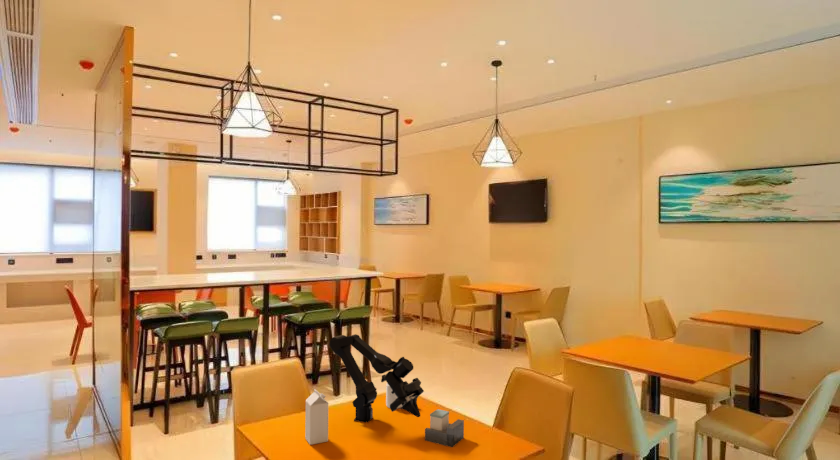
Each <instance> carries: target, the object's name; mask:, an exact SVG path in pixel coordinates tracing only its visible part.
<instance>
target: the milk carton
mask: <svg viewBox="0 0 840 460" xmlns="http://www.w3.org/2000/svg"><path fill="white" fill-rule="evenodd" d="M313 390H314V391H313V392H312V393H311V394H310V395H309V396H308V397H307V398H306V399H305V420H304V421H305V424H304V425H305V426H304V427H305V431H304V432H305V436H304V438H305V440H306V441H307V443H308V444H309V446H311V445H316V444H321V443H326V442H329V402H328V401H327V400H326V399H325V398H326V395H325V394H324V393H323V392H321V393H320V392H319V391H318V389H317V390H316V388H314V389H313Z"/></svg>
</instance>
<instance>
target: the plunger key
mask: <svg viewBox="0 0 840 460" xmlns="http://www.w3.org/2000/svg"><path fill="white" fill-rule="evenodd" d="M449 414H450V411H449V410H448V411H447V410H444V409H439V408H437V409H436V410H434V411H433V412H430V414H429V416H430V422H429V423H430V427H429V428H430V429H435V430H439V431H443V432H447V427H448V426H449V419H450V418H449V417H450V415H449Z"/></svg>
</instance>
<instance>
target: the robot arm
mask: <svg viewBox="0 0 840 460" xmlns="http://www.w3.org/2000/svg"><path fill="white" fill-rule="evenodd" d="M351 347H352V348H354V349H355V350H356V351H357V352H358V353H360V354H361V355H362V356H363V357H365V359H367V360H368V361H369V363H370V364H371V367H372V369H373V370H374V371H375V372H376V373H377V374H380V375H381V379H380V382H381V383H384V382H386V383H388V384H389V386H390V387H391V389H392V390H393V391H392V392H391V393H392V394H394V393H395V395H396V396H397V399H396V400H395V401H393V402H392V403H391V404H390V408H389V409H390V411H391V412H392V413H393V412H394V411H397V409H398V408H397V407H399V405H401V404H402V406H403V407H401V408H400V409H401V410H404V411H406V412H408V413H410V414H412V415H413V416H414V417H417V418H420V417H421V413H420V409H419V407H418V402H417V401H418V398H419V396H420V395H421V394H423V393H424V392H425V391H424V389H423V388H422V387H421V385H422V381H420V379H419V378H418V377H415V378H413V379H412V381H411V382H408V381H406V380H405V381H404V380H403V379H404V378H406V377H407V375H409V374H410V373H411V372H412V371H413V370H414V364H413V363H412V362H411V360H409V359H407V358H405V356H401V357H400V358H399V359H398V361H394V360H392V359H391V358H390V357H388V356H387V355H385V354H383V353H379V352H378V351H377V350H375V349H374V348H373V347H372V346H370V345H369V344H368V343H367V342H366V341H365V340H363V339H362V338H361V337H360V335H359V334H357V333H356V334H352V335H348V336H346V335H345V334H341V335H340V334H339V335H337V336H334V337H331V339H329V348H330V349H331V350H332V352H333V353H334V354H335V355H336V356H338V357H339V358H340V360H341V362H342V363H343V365H344V367H345V368H346V371H347V372H348V374H349V376H350V378H351V380H352V382H353V384H354V386H355V395H356V398H355V399H353V401H352V406H353V408H355V418H354V419H353V422H361V423H369V422H370V421H371V420H372V419H373V417H374V416H373V415H374V414H373V413H374V412H373V405H372V404H374V402H375V400H376V399H377V396H378V391H377V387H375V384H374V382H373V381H372V380H371V381H370V382H369V381H368V380H367V379H366V378H365V376H364V374H363V372H362V371H361V368H360V367H359V365H358V363H357V362H356V359H355V358H354V356H353V353H352V352H351ZM385 373H386V374H385ZM382 374H383V375H382Z"/></svg>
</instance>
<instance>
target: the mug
mask: <svg viewBox="0 0 840 460" xmlns="http://www.w3.org/2000/svg"><path fill="white" fill-rule="evenodd" d="M385 384H386V385H385V386H386V387H385V396H386V397H385V405H386V407H387V408H389V409H390V404H391V403H392V402H393V401H395V400H396V399H397V396H396V395H395V393H394V394H392V393H391V392H392V391H393V390H392V389H391V387H390V386H389V384H388V383H387V382H386V383H385ZM401 407H403V406H402V404H401V405H399V407H397V409H401Z"/></svg>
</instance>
